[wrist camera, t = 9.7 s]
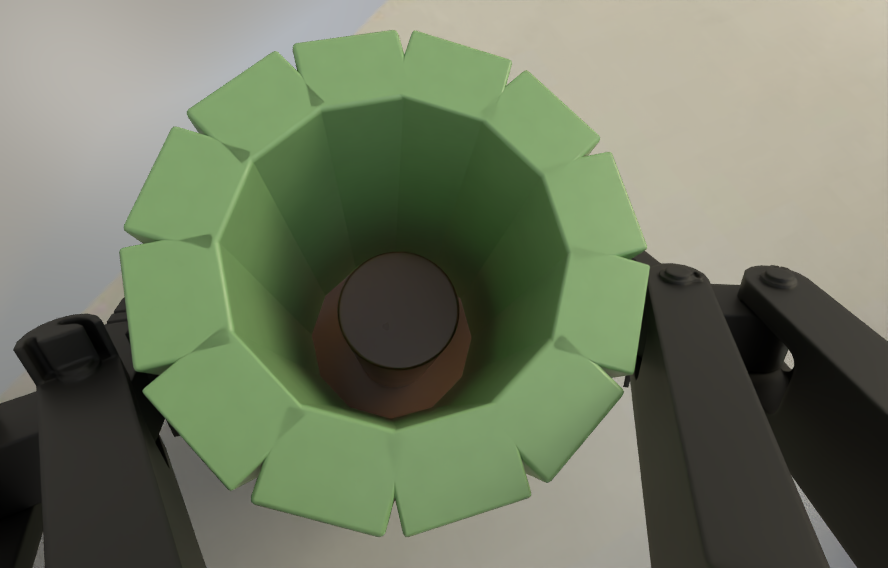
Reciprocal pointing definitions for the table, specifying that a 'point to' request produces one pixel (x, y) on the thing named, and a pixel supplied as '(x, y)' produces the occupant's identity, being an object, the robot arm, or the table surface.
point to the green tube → (367, 235)
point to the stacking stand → (392, 335)
